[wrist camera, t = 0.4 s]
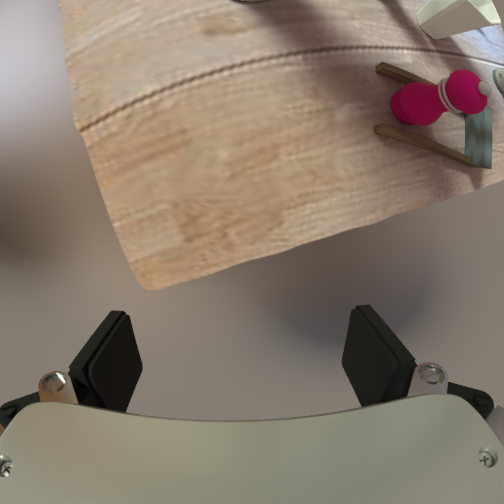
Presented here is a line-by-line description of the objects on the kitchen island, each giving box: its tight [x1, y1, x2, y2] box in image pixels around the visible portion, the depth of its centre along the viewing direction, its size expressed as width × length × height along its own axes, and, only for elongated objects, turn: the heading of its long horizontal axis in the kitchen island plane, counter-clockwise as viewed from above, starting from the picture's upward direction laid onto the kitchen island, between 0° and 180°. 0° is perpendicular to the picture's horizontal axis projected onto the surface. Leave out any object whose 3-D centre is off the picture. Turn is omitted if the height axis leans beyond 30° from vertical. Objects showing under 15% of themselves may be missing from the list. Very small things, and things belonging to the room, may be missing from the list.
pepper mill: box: [391, 70, 491, 126], centre depth 26 cm, size 7×7×20 cm
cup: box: [416, 0, 501, 40], centre depth 21 cm, size 11×10×17 cm
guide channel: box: [374, 62, 492, 169], centre depth 33 cm, size 12×24×6 cm, turn 85°
